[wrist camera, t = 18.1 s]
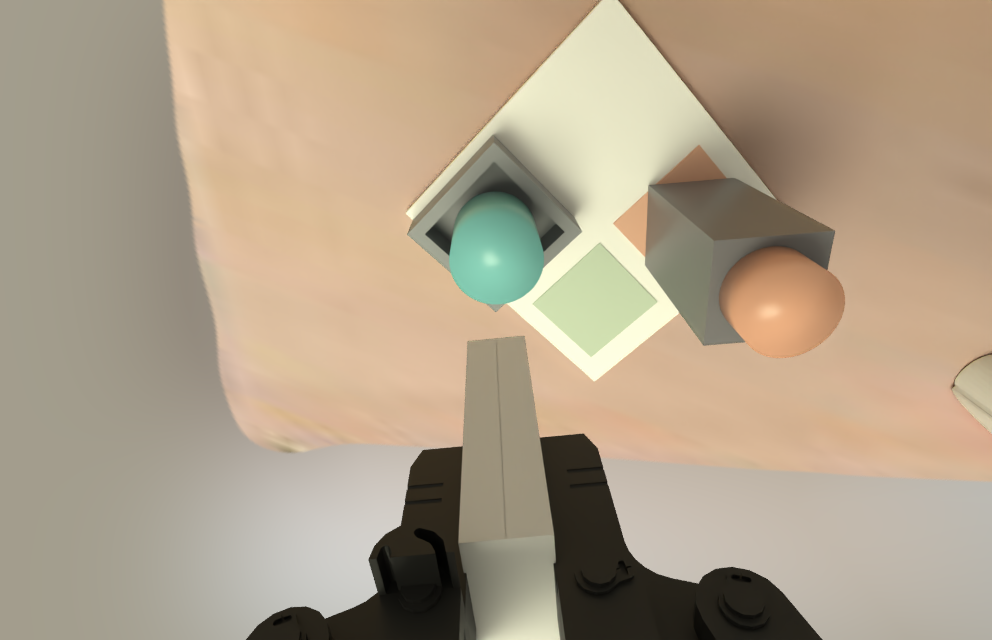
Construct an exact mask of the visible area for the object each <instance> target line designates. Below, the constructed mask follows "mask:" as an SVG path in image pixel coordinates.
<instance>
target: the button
mask: <svg viewBox="0 0 992 640" xmlns="http://www.w3.org/2000/svg"><path fill="white" fill-rule="evenodd" d="M449 265H450V270H451V274H452V276H453V279H454V281H455V282H456V284H457V285H458V287H459V288H460V289H461V290H462V291H463V292H464V293H465V294H467V295H468V296H469V297H471V298H473V299H474V300H477V301H479V302H482V303H486V304H506V303H510V302H513V301H516V300H518V299H520V298H522V297H523V296H525V295H526V294H527V293H529V292H530V291H531V290H532V289H533V288H534V286H535V285H536V284H537V282H538V280H539V278H540V276H541V274H542V271H543V266H544V253H543V248H542V245H541V241H540V238H539V234H538V231H537V227H536V224H535V221H534V218H533V215H532V213H531V211H530V210H529V208H528V207H527V206H526V205H525V204H524V203H523V202H522V201H521V200H520V199H518V198H517V197H515V196H513V195H511V194H508V193H504V192H495V191H494V192H486V193H482V194H479V195H477V196H475V197H473V198H472V199H470V200H469V201H468V202H467V203H466V204H465V205H464V206H463V207H462V208H461V210H460V211H459V213H458V215H457V217H456V220H455V224H454V230H453V236H452V242H451V249H450V255H449Z"/></svg>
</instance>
